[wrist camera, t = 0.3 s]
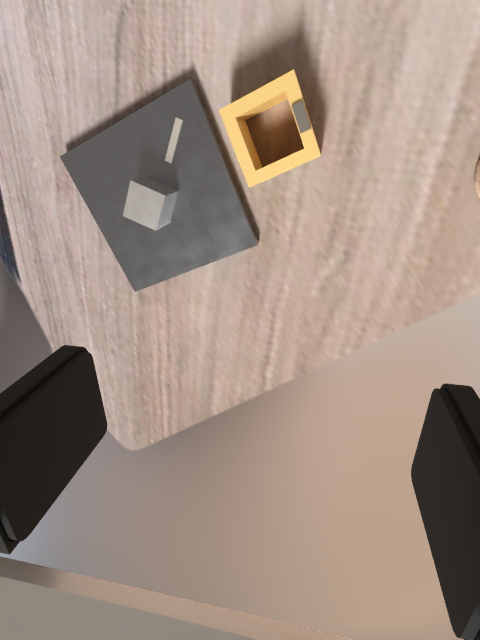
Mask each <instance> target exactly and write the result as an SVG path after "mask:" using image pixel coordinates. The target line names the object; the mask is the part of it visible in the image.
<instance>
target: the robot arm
mask: <svg viewBox="0 0 480 640" xmlns="http://www.w3.org/2000/svg"><path fill="white" fill-rule="evenodd" d="M106 430H107V420H106V416H105V411H104V407H103V402H102V398H101V393H100V389H99V384H98V380H97V375H96V371H95V366H94V362H93V357H92V355H91V354H90V353H89V352H88V351H87V349H86V348H84V347H78V346H69V345H64V346H62V347H60V348H59V349H58V350H57V351H55V352H54V353H53V354H51V355H50V356H49V357H47V358H46V359H45V360H44V361H42V362H41V363H40V364H38V365H37V366H36V367H35V368H33V369H32V370H31V371H29V372H28V373H27V374H25V375H24V376H23V377H21V378H20V379H19V380H18V381H16V382H15V383H14V384H12V385H11V386H10V387H9V388H7V389H6V390H5V391H3V392H2V393H1V394H0V553H5V554H11V552H12V551H13V550H14V548H15V547H16V546H17V544H18V543H19V542H20V541H23V540H24V539H26V538H27V537H28V536H29V535H30V533H31V532H32V531H33V529H34V528H35V527H36V525H37V524H38V523H39V521H40V520H41V518H42V517H43V516H44V515H45V513H46V512H47V511H48V509H49V508H50V507H51V505H52V504H53V503H54V501H55V500H56V499H57V497H58V496H59V495H60V493H61V492H62V491H63V490H64V488H65V487H66V485H67V484H68V483H69V481H70V480H71V479H72V478H73V476H74V475H75V473H76V472H77V471H78V470H79V468H80V467H81V466H82V464H83V463H84V461H85V460H86V459H87V457H88V456H89V455H90V454H91V452H92V451H93V450H94V448H95V447H96V446H97V444H98V443H99V442H100V440H101V439H102V438H103V436H104V435H105V433H106ZM411 477H412V483H413V487H414V490H415V494H416V498H417V501H418V505H419V509H420V512H421V516H422V520H423V523H424V527H425V530H426V534H427V538H428V541H429V545H430V549H431V552H432V556H433V559H434V563H435V567H436V571H437V574H438V578H439V581H440V585H441V589H442V592H443V596H444V600H445V603H446V607H447V611H448V614H449V618H450V621H451V625H452V628H453V631H454V633H455V635H456V636H457V637H458V638H462V639H464V640H480V399H479V397H478V396H477V394H476V392H475V391H474V389H473V388H472V387H470V386H464V385H454V384H443V385H442V386H441V388H440V389H434V390H433V392H432V395H431V398H430V402H429V406H428V410H427V413H426V417H425V420H424V424H423V428H422V431H421V435H420V439H419V442H418V446H417V450H416V453H415V457H414V460H413V464H412V469H411ZM0 640H356V639H352V638H348V637H344V636H339V635H335V634H331V633H327V632H323V631H318V630H314V629H310V628H306V627H302V626H297V625H293V624H289V623H285V622H280V621H276V620H272V619H268V618H263V617H259V616H255V615H251V614H247V613H242V612H238V611H234V610H230V609H226V608H221V607H217V606H213V605H209V604H204V603H199V602H196V601H192V600H187V599H183V598H179V597H174V596H170V595H166V594H161V593H157V592H152V591H148V590H144V589H140V588H136V587H131V586H127V585H122V584H118V583H114V582H110V581H105V580H101V579H97V578H92V577H88V576H84V575H79V574H75V573H70V572H66V571H62V570H57V569H53V568H49V567H44V566H40V565H35V564H31V563H26V562H22V561H17V560H13V559H9V558H4V557H0Z"/></svg>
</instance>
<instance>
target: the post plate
mask: <svg viewBox="0 0 480 640" xmlns="http://www.w3.org/2000/svg"><path fill="white" fill-rule="evenodd" d="M60 158H61V160H62V161H63V163H64V165H65V167H66V169H67V170H68V172H69V174H70V176H71V178H72V179H73V181H74V183H75V185H76V187H77V188H78V190H79V192H80V194H81V196H82V197H83V199H84V201H85V203H86V205H87V206H88V208H89V210H90V212H91V214H92V215H93V217H94V219H95V221H96V223H97V224H98V226H99V228H100V230H101V232H102V233H103V235H104V237H105V239H106V241H107V242H108V244H109V246H110V248H111V250H112V251H113V253H114V255H115V257H116V259H117V260H118V262H119V264H120V266H121V268H122V269H123V271H124V273H125V275H126V277H127V278H128V280H129V282H130V284H131V286H132V287H133V289H134V291H135V292H136V291H138V290H141V289H143V288H146V287H149V286H151V285H154V284H157V283H159V282H162V281H164V280H167V279H170V278H172V277H175V276H178V275H180V274H183V273H185V272H188V271H191V270H193V269H196V268H199V267H201V266H204V265H206V264H209V263H212V262H214V261H217V260H220V259H222V258H225V257H227V256H230V255H233V254H235V253H238V252H241V251H243V250H246V249H248V248H251V247H254V246H256V245H258V243H259V240H258V238H257V235H256V233H255V230H254V228H253V225H252V223H251V220H250V218H249V215H248V213H247V210H246V208H245V205H244V203H243V200H242V198H241V196H240V193H239V191H238V188H237V186H236V183H235V181H234V178H233V176H232V173H231V171H230V168H229V166H228V163H227V161H226V158H225V156H224V153H223V151H222V148H221V146H220V143H219V141H218V138H217V136H216V133H215V131H214V128H213V126H212V123H211V121H210V118H209V116H208V113H207V111H206V108H205V106H204V103H203V101H202V99H201V96H200V94H199V91H198V89H197V86H196V84H195V81H193V80H191V79H189V80H187V81H185V82H184V83H182V84H180V85H179V86H177V87H175V88H174V89H172V90H170V91H169V92H167V93H165V94H164V95H162V96H160V97H159V98H157V99H155V100H154V101H152V102H150V103H149V104H147V105H145V106H144V107H142V108H140V109H139V110H137V111H135V112H134V113H132V114H130V115H129V116H127V117H125V118H124V119H122V120H120V121H119V122H117V123H115V124H114V125H112V126H110V127H108V128H107V129H105V130H103V131H102V132H100V133H98V134H97V135H95V136H93V137H92V138H90V139H88V140H87V141H85V142H83V143H82V144H80V145H78V146H77V147H75V148H73V149H72V150H70V151H68V152H67V153H65V154H63V155H62V156H60Z"/></svg>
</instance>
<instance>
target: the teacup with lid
mask: <svg viewBox="0 0 480 640" xmlns="http://www.w3.org/2000/svg"><path fill="white" fill-rule="evenodd" d="M475 188H476V192H477V195H478V197H479V198H480V160H479V162H478V165H477V168H476V172H475Z"/></svg>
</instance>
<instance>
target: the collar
mask: <svg viewBox="0 0 480 640" xmlns="http://www.w3.org/2000/svg"><path fill="white" fill-rule="evenodd" d="M286 99H288V100H289V103H290V106H291V109H292V112H293V115H294V118H295V121H296V125H297V128H298V131H299V134H300V137H301V140H302V143H303V146H304V149H302V150H300V151H298V152H295V153H293V154H291V155H289V156H287V157H285V158H282V159H280V160H278V161H276V162H274V163H272V164H269V165H267V166H265V167H262V164H261V161H260V159H259V156H258V153H257V151H256V148H255V145H254V143H253V140H252V137H251V134H250V132H249V129H248V126H247V124H246V121H245V120H247V119H249V118H251V117H253V116H255V115H257V114H259V113H261V112H263V111H265V110H267V109H269V108H271V107H272V106H274V105H276V104H278V103H280V102H282V101H284V100H286ZM219 112H220V115H221V117H222V120H223V122H224V125H225V127H226V130H227V133H228V135H229V138H230V140H231V143H232V145H233V148H234V151H235V153H236V156H237V158H238V161H239V163H240V166H241V168H242V171H243V174H244V176H245V179H246V181H247V184H248V186H249V188H250V187H252V186H254V185H257V184H259V183H261V182H263V181H266V180H268V179H270V178H272V177H275V176H277V175H279V174H281V173H283V172H286V171H288V170H290V169H292V168H295V167H297V166H299V165H301V164H304V163H306V162H308V161H310V160H313V159H315V158H317V157H319V156H321V153H320V150H319V146H318V143H317V140H316V137H315V134H314V130H313V127H312V124H311V121H310V118H309V114H308V111H307V108H306V105H305V101H304V98H303V95H302V92H301V89H300V85H299V82H298V79H297V76H296V74H295V71H294V70H292V71H290V72H288V73H286V74H284V75H283V76H281V77H279V78H277V79H275V80H273V81H272V82H270V83H268V84H266V85H264V86H262V87H261V88H259V89H257V90H255V91H253V92H251V93H249V94H248V95H246V96H244V97H242V98H240V99H238V100H237V101H235V102H233V103H231V104H229V105H227V106H226V107H224V108H222V109H220V110H219Z"/></svg>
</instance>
